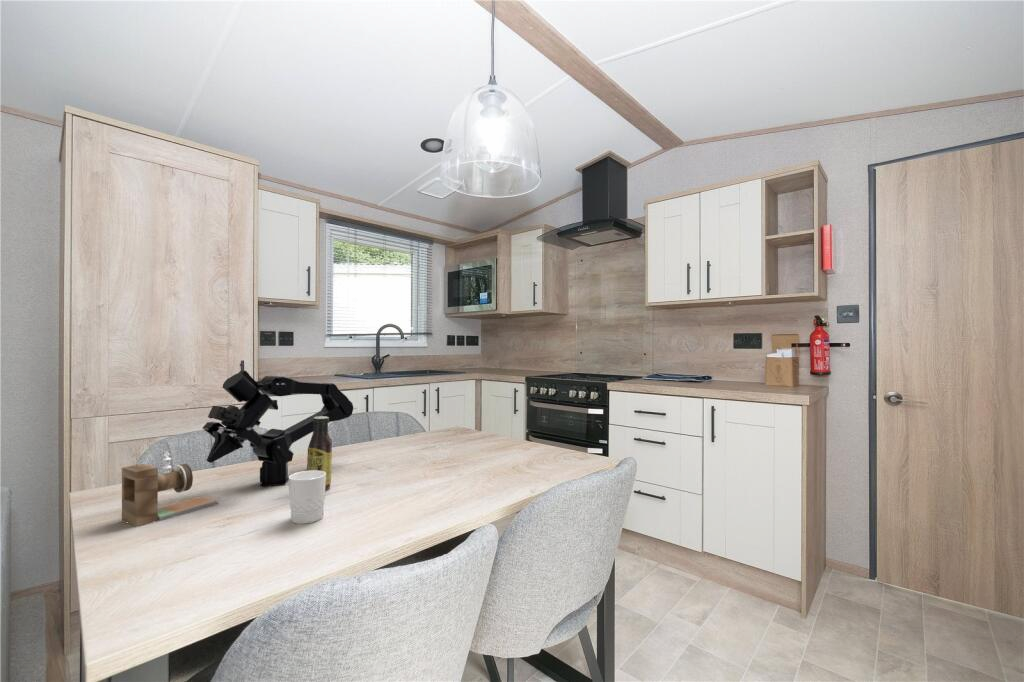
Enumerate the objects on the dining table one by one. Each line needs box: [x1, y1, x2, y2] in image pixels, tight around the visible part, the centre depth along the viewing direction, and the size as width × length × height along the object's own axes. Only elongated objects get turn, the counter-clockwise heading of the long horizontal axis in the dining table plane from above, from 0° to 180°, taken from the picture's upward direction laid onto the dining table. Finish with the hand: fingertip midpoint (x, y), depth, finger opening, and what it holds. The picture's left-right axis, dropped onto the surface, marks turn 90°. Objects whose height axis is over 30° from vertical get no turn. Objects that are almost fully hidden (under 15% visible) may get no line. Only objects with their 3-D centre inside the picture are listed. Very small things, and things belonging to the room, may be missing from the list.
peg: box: [158, 463, 194, 493], centre depth 111 cm, size 8×6×6 cm
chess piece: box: [161, 451, 172, 474], centre depth 130 cm, size 5×5×10 cm
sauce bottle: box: [306, 416, 333, 491], centre depth 129 cm, size 6×6×20 cm
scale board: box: [158, 495, 219, 521], centre depth 114 cm, size 13×8×1 cm, turn 151°
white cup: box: [288, 470, 326, 525], centre depth 108 cm, size 8×8×10 cm
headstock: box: [121, 463, 159, 527], centre depth 106 cm, size 4×7×12 cm, turn 61°
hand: (208, 461), depth 119 cm, fingers closed
